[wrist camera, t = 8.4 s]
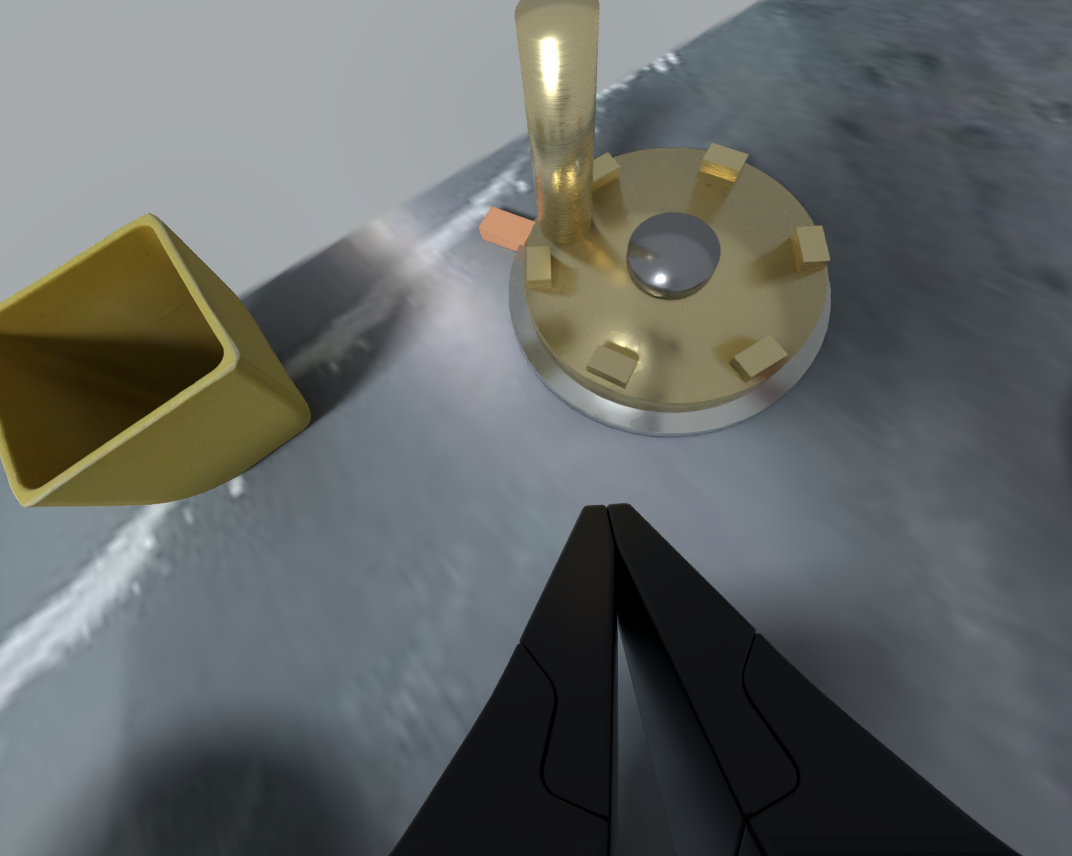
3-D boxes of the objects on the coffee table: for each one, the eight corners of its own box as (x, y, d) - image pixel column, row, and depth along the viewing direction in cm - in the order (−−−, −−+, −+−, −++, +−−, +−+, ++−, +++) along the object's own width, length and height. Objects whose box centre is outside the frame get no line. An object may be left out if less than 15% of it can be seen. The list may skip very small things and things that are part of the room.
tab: (538, 234, 27) (536, 222, 26) (525, 255, 26) (523, 243, 26) (494, 218, 27) (491, 206, 27) (482, 238, 27) (478, 227, 26)
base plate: (779, 486, 21) (817, 472, 18) (463, 376, 25) (445, 346, 21) (852, 209, 25) (893, 155, 22) (572, 145, 29) (571, 90, 25)
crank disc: (852, 225, 24) (1071, -45, 13) (744, 465, 21) (918, 364, 10) (602, 140, 27) (617, -130, 17) (476, 337, 24) (394, 160, 14)
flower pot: (360, 430, 24) (240, 358, 16) (221, 531, 23) (13, 512, 15) (287, 320, 27) (150, 207, 18) (159, 408, 26) (-50, 331, 17)
